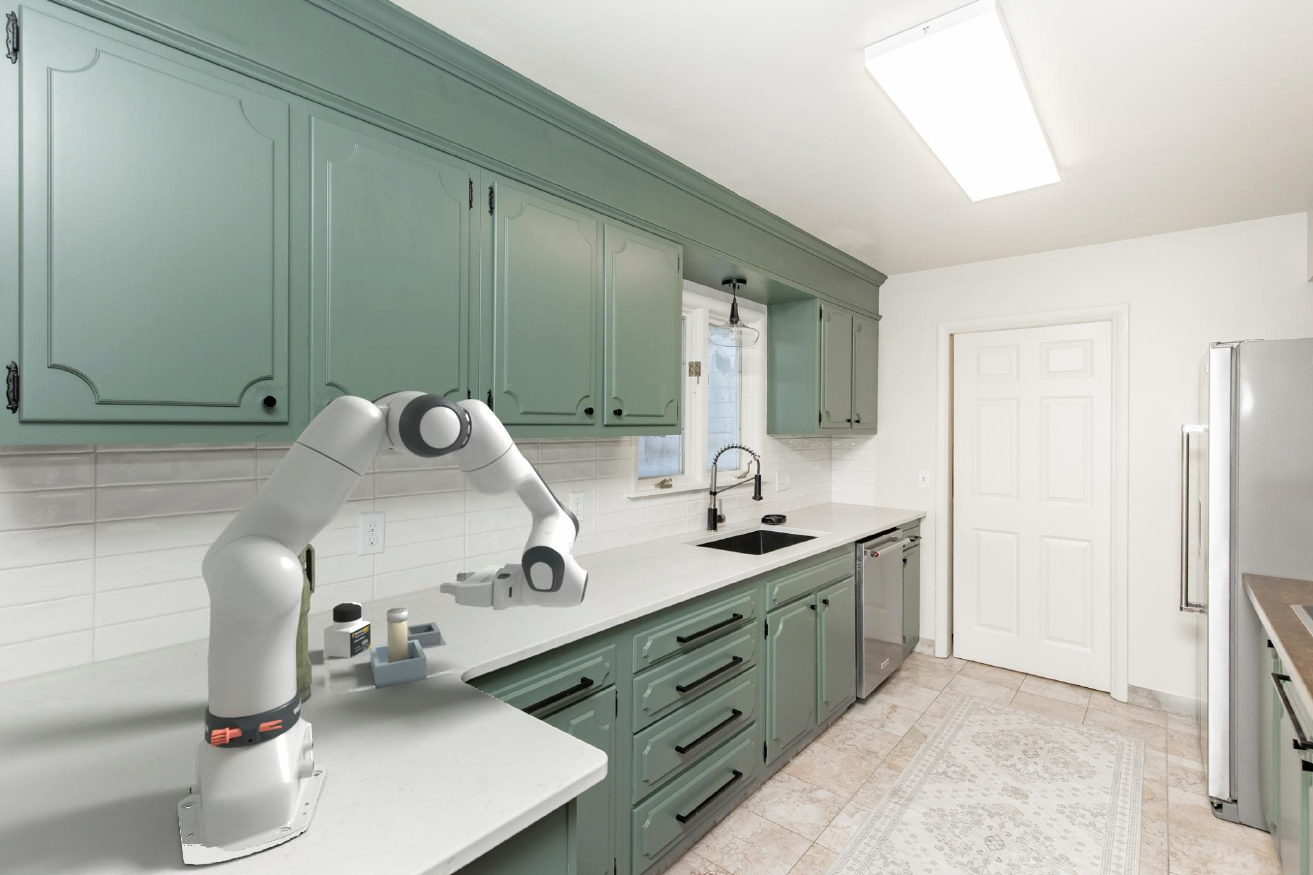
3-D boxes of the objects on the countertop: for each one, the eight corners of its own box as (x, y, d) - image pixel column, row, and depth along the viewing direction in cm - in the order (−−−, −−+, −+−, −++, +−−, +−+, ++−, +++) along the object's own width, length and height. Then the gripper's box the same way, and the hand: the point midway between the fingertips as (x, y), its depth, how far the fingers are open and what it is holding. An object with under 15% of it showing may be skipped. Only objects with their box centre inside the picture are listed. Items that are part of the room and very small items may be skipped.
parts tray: (426, 678, 132) (426, 657, 132) (375, 688, 127) (375, 667, 127) (417, 658, 143) (417, 639, 143) (370, 667, 138) (370, 647, 138)
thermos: (240, 709, 118) (237, 528, 117) (296, 683, 129) (293, 518, 128) (274, 717, 115) (270, 531, 113) (327, 690, 126) (325, 521, 125)
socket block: (446, 648, 149) (446, 632, 149) (402, 656, 144) (402, 639, 144) (439, 635, 157) (438, 619, 157) (396, 642, 153) (396, 626, 152)
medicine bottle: (350, 662, 140) (350, 610, 140) (323, 659, 142) (322, 608, 141) (371, 650, 147) (370, 601, 147) (345, 647, 149) (344, 598, 148)
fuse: (409, 670, 134) (409, 611, 134) (388, 674, 132) (388, 614, 132) (406, 663, 138) (406, 606, 137) (386, 667, 136) (385, 609, 135)
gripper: (525, 559, 143) (466, 557, 144) (499, 582, 123) (431, 579, 123) (524, 586, 143) (466, 584, 144) (498, 613, 123) (430, 610, 123)
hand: (449, 581), depth 133 cm, fingers open, 8 cm apart
